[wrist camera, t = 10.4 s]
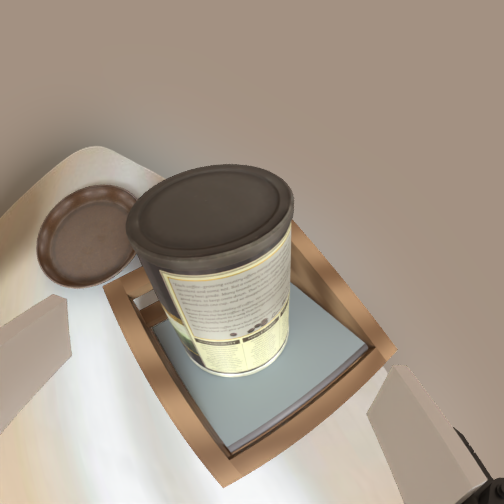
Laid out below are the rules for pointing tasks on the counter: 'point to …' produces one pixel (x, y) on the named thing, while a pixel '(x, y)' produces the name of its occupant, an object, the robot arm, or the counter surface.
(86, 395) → the counter surface
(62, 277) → the plant saucer
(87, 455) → the counter surface
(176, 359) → the lid
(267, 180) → the coffee can
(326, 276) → the wooden stand
